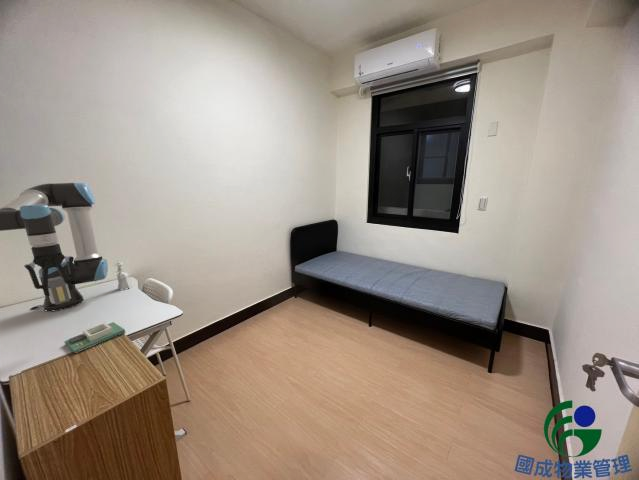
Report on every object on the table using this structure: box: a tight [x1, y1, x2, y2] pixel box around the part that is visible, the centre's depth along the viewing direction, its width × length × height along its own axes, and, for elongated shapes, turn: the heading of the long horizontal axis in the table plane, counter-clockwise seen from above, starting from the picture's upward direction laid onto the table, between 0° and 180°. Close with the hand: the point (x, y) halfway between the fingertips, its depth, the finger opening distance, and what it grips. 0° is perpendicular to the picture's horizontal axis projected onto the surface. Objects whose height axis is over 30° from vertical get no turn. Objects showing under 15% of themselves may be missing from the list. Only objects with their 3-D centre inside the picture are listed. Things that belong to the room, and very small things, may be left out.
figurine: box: [113, 260, 134, 290], centre depth 153 cm, size 7×8×18 cm
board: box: [64, 322, 126, 353], centre depth 102 cm, size 12×16×4 cm
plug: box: [48, 276, 70, 305], centre depth 100 cm, size 5×4×10 cm
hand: (61, 300), depth 101 cm, fingers closed on plug, 4 cm apart
